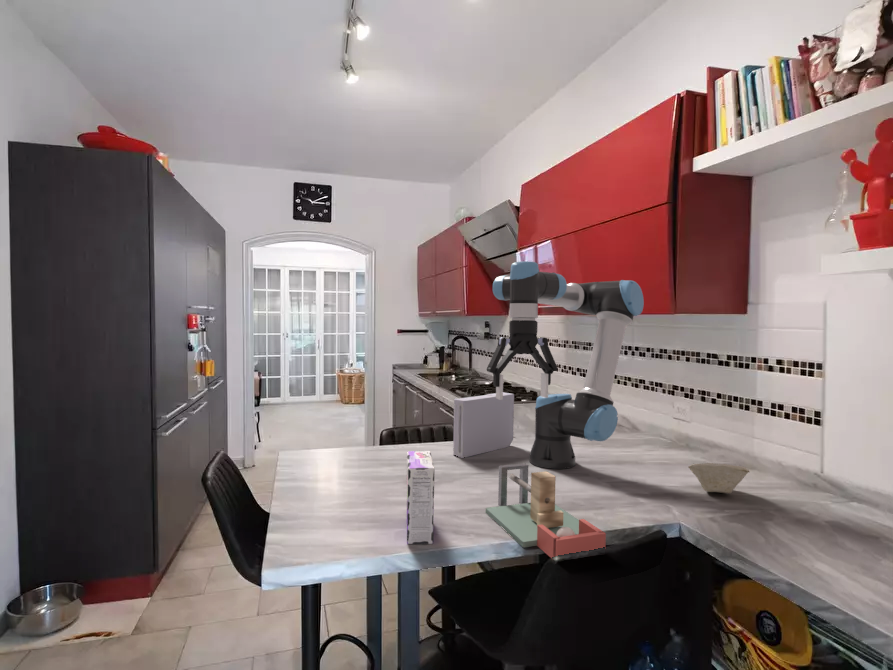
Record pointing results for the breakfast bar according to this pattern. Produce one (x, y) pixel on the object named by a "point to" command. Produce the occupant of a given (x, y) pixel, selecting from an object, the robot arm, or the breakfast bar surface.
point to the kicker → (542, 498)
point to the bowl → (718, 476)
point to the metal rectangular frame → (503, 483)
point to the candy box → (420, 497)
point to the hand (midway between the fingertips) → (522, 398)
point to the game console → (482, 424)
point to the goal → (570, 540)
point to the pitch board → (526, 522)
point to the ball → (565, 532)
